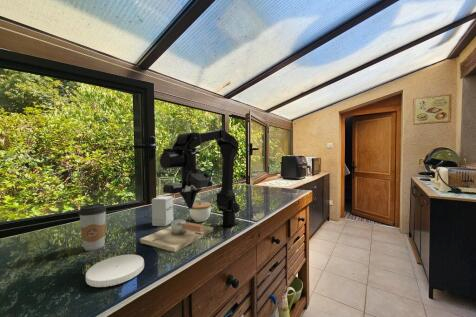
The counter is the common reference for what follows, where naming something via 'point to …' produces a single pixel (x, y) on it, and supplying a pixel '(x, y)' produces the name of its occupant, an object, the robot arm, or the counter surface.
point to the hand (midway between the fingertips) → (190, 208)
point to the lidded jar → (200, 211)
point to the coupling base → (174, 238)
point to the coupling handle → (184, 227)
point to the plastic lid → (114, 270)
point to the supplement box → (162, 210)
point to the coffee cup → (93, 226)
